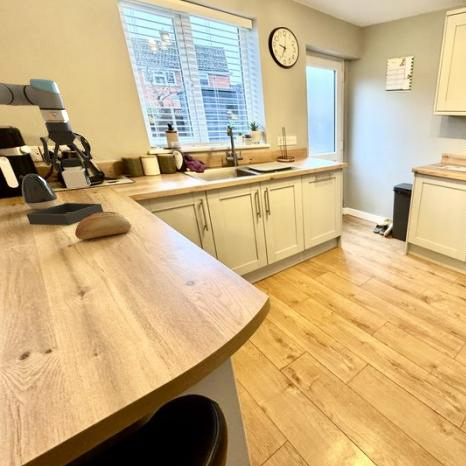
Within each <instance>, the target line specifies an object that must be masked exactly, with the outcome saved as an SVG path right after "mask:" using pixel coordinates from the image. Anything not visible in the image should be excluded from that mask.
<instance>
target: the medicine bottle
mask: <svg viewBox="0 0 466 466" xmlns="http://www.w3.org/2000/svg"><path fill="white" fill-rule="evenodd" d="M60 163H61V165H62V168H63V170H62V175H63V178H64V179H63V181H64V184H65V186H66V188H67V189H69V190H70V189H80V188H89V187H90V185H91V180H90V176H89V177H88V176H87V173H86V170H85V168H83V166H82V162H81V159H79V158H64V159H62V160H61V161H60Z"/></svg>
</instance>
